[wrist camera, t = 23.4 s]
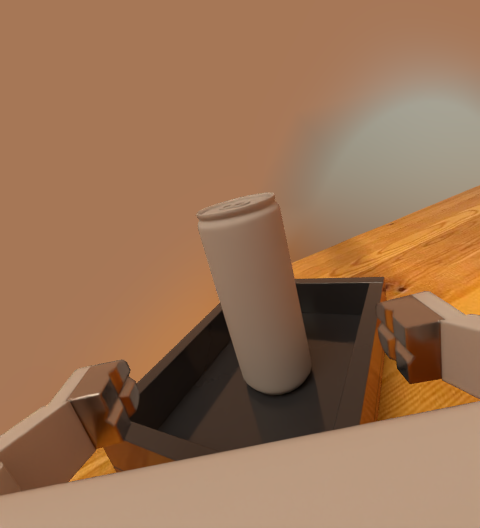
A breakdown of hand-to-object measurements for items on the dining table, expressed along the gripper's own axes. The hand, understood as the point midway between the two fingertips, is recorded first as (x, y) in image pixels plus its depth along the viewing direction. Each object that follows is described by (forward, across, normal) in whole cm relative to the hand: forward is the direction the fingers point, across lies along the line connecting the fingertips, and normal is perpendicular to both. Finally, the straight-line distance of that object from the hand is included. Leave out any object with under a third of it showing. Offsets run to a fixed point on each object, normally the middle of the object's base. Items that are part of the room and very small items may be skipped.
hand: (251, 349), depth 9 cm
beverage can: (+9, 0, +9) cm, 12 cm away
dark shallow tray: (+9, 0, +10) cm, 13 cm away
